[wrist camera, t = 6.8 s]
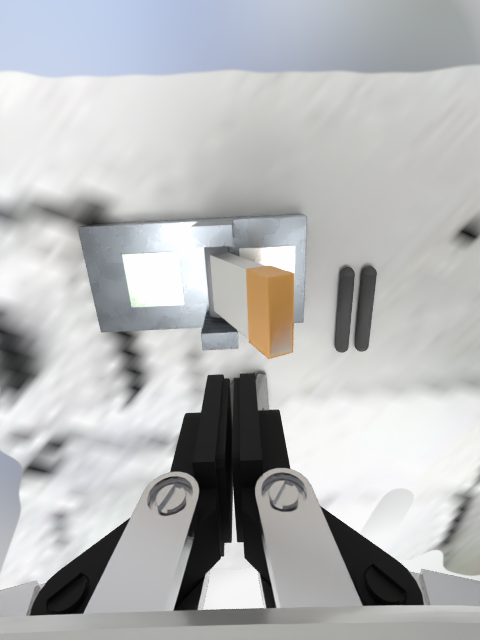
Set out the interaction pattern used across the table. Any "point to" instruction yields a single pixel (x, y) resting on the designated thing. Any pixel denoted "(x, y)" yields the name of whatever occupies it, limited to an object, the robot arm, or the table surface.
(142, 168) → the table surface
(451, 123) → the table surface
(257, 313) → the breaker lever
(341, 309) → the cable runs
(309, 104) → the table surface
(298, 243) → the double window frame
